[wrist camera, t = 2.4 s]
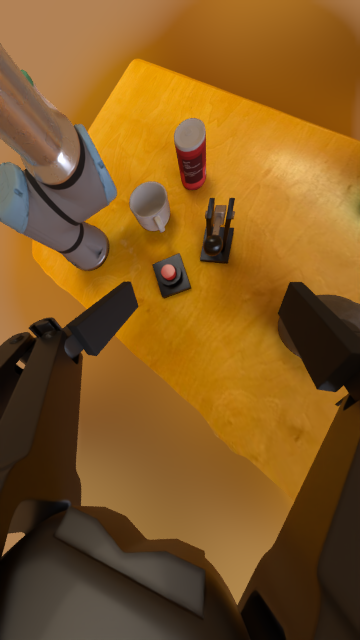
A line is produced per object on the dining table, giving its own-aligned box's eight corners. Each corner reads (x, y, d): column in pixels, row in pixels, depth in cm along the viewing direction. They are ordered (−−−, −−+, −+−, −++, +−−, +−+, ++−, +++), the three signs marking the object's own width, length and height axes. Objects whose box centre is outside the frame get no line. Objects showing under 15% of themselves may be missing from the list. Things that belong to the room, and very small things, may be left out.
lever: (220, 261, 27) (223, 243, 24) (201, 259, 28) (202, 242, 25) (227, 220, 33) (230, 201, 30) (211, 219, 34) (212, 201, 30)
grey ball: (255, 330, 39) (283, 332, 25) (292, 291, 38) (345, 268, 24) (300, 368, 37) (361, 394, 22) (342, 327, 36) (435, 326, 21)
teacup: (138, 211, 49) (125, 189, 41) (169, 198, 47) (161, 172, 39) (148, 249, 47) (136, 233, 39) (179, 237, 45) (173, 218, 37)
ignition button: (161, 269, 42) (159, 267, 41) (173, 264, 42) (172, 261, 40) (165, 282, 42) (163, 280, 40) (178, 277, 41) (176, 275, 40)
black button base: (154, 266, 46) (149, 261, 43) (180, 255, 45) (178, 249, 41) (164, 298, 45) (160, 296, 42) (191, 288, 44) (189, 285, 40)
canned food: (194, 162, 46) (190, 111, 35) (211, 177, 44) (212, 128, 34) (176, 181, 46) (167, 137, 36) (193, 196, 45) (188, 154, 34)
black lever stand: (227, 263, 42) (236, 232, 28) (200, 261, 44) (196, 231, 30) (233, 230, 42) (245, 184, 29) (205, 229, 44) (204, 185, 30)
